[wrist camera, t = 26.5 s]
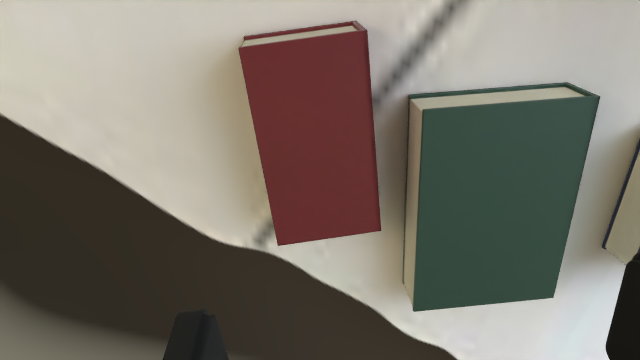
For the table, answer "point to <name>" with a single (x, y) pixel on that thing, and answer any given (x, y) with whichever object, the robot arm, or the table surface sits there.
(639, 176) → the navy book
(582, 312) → the table surface
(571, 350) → the table surface
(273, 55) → the burgundy book
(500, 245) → the green book
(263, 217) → the table surface
